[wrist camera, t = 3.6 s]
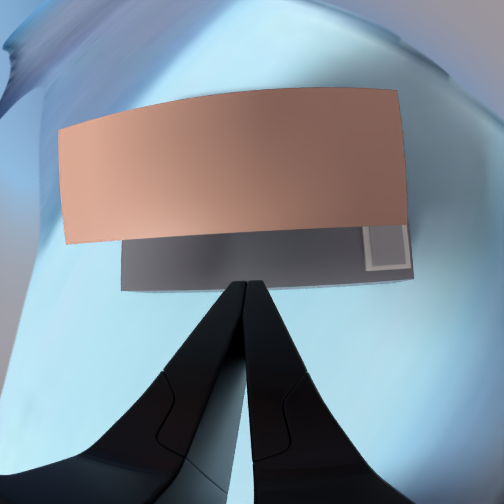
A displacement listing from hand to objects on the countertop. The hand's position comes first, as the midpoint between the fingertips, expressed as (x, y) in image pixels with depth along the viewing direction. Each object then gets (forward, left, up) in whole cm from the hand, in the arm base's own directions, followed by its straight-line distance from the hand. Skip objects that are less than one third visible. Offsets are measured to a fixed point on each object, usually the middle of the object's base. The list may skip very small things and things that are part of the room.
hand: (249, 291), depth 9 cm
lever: (+4, -4, -5) cm, 8 cm away
